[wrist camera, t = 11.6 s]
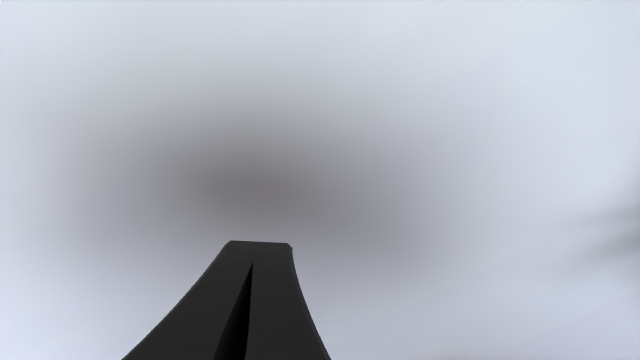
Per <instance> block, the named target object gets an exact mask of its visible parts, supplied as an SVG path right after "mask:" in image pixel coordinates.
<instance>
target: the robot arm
mask: <svg viewBox="0 0 640 360" xmlns="http://www.w3.org/2000/svg"><path fill="white" fill-rule="evenodd" d="M122 360H331V359H330V357H329V355H328V353H327V351H326V349H325V347H324V344H323V342H322V340H321V338H320V336H319V334H318V332H317V329H316V327H315V325H314V322H313V320H312V318H311V315H310V313H309V310H308V307H307V305H306V302H305V300H304V297H303V294H302V291H301V288H300V285H299V282H298V278H297V275H296V271H295V267H294V262H293V254H292V247H291V246H290V245H289V244H288V243H271V242H250V241H229V242H228V243H227V244H226V245H225V246H224V247H223V249H222V250H221V251H220V253H219V254H218V255H217V257H216V258H215V259H214V261H213V262H212V263H211V265H210V266H209V267H208V268H207V270H206V271H205V272H204V273H203V275H202V276H201V277H200V278H199V280H198V281H197V282H196V283H195V284H194V285H193V287H192V288H191V289H190V290H189V291H188V292H187V293H186V295H185V296H184V297H183V298H182V299H181V300H180V301H179V303H178V304H177V305H176V306H175V307H174V308H173V309H172V310H171V311H170V312H169V313H168V314H167V315H166V316H165V317H164V319H163V320H162V321H161V322H160V323H159V324H158V325H157V326H156V327H155V328H154V329H153V330H152V331H151V332H150V333H149V334H148V335H147V336H146V337H145V338H144V339H143V340H142V341H141V342H140V343H139V344H138V345H137V346H136V347H135V348H134V349H132V350H131V351H130V352H129V353H128V354H127V355H126V356H125V357H124V358H123V359H122Z"/></svg>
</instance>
